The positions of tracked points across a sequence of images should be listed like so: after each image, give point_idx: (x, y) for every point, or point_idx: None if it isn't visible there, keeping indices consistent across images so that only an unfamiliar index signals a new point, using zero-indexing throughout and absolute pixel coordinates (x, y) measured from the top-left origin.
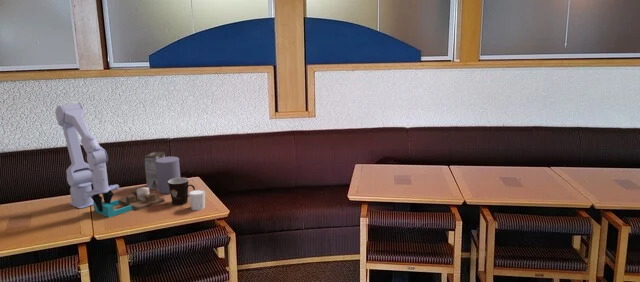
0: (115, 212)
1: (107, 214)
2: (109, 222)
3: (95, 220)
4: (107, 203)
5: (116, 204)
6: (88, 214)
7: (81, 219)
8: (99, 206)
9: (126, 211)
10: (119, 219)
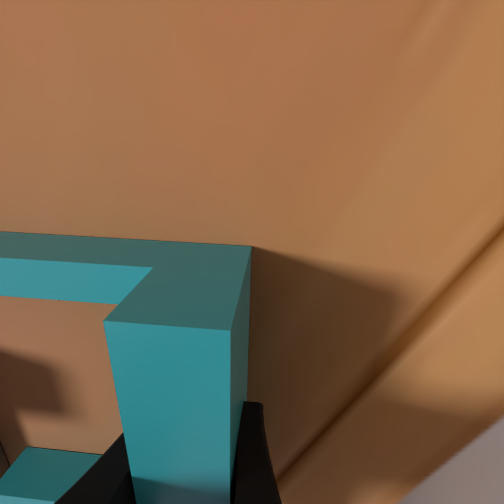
0: (142, 256)
1: (247, 287)
2: (354, 67)
3: (399, 299)
4: (135, 476)
5: (40, 457)
6: (322, 470)
7: (448, 430)
8: (275, 482)
9: (14, 235)
10: (193, 52)
